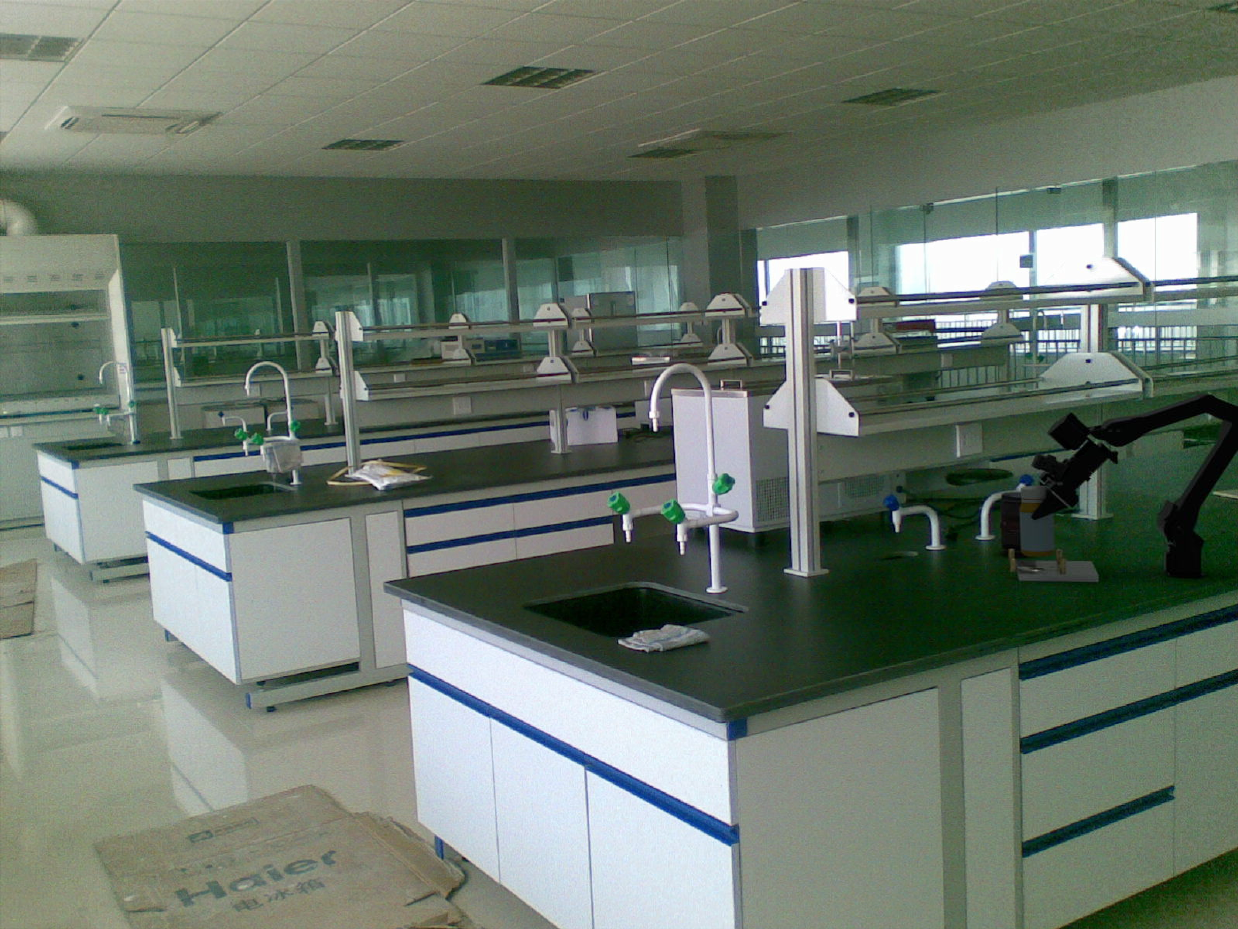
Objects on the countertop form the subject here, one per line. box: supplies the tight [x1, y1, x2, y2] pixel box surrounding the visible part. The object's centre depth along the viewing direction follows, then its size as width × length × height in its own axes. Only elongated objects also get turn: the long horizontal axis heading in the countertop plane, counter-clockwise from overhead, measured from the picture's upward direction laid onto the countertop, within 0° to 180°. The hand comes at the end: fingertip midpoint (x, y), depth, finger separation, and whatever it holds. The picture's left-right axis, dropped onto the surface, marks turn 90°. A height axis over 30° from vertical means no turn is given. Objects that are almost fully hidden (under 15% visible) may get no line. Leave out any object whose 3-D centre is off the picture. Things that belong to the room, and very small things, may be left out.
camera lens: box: [999, 491, 1032, 559], centre depth 261 cm, size 8×8×15 cm
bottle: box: [1020, 485, 1056, 558], centre depth 241 cm, size 7×7×15 cm
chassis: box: [1008, 548, 1099, 583], centre depth 241 cm, size 18×14×4 cm
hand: (1030, 515), depth 241 cm, fingers closed on bottle, 7 cm apart
